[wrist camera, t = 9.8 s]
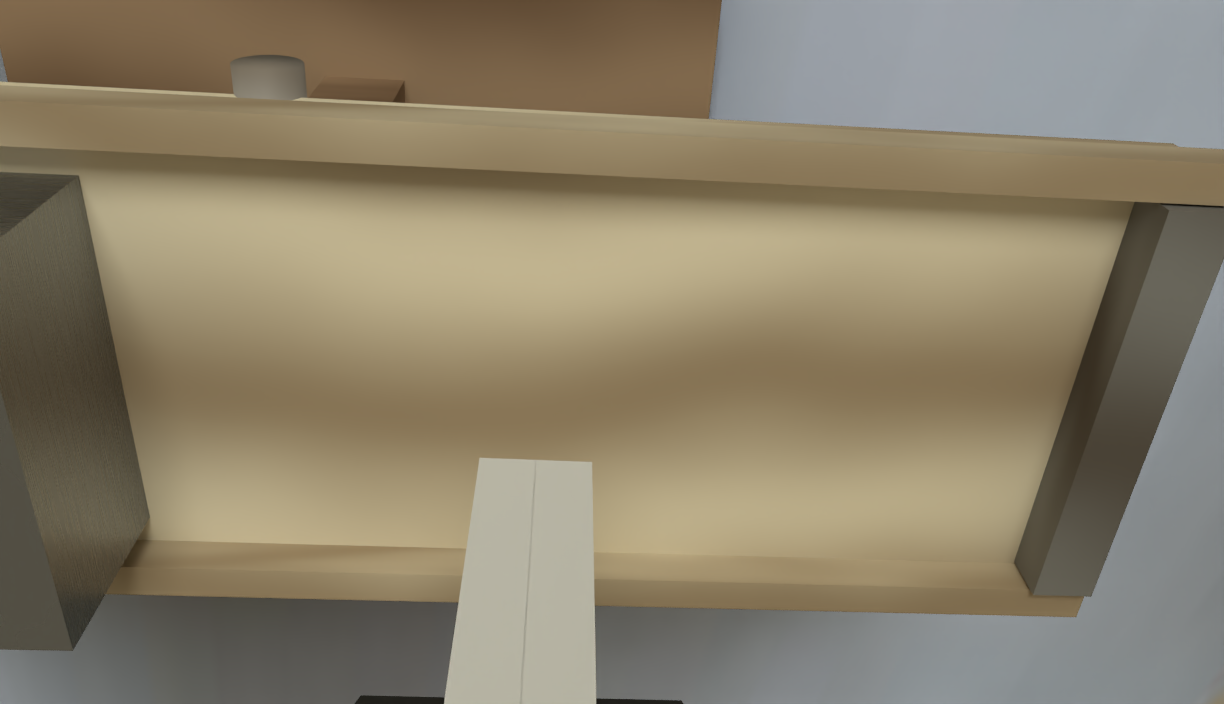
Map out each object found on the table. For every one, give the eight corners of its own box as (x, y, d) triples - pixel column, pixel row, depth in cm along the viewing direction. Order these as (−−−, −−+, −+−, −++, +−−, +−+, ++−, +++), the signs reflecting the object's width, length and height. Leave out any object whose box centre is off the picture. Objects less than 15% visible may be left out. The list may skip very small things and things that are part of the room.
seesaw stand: (2, -54, 25) (-246, 20, 18) (715, -12, 26) (778, 74, 19) (80, 304, 30) (-87, 484, 22) (679, 325, 31) (716, 504, 24)
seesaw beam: (-707, 0, 17) (-962, 44, 14) (1159, 103, 19) (1262, 160, 16) (-438, 487, 22) (-588, 591, 19) (1018, 528, 24) (1078, 629, 21)
